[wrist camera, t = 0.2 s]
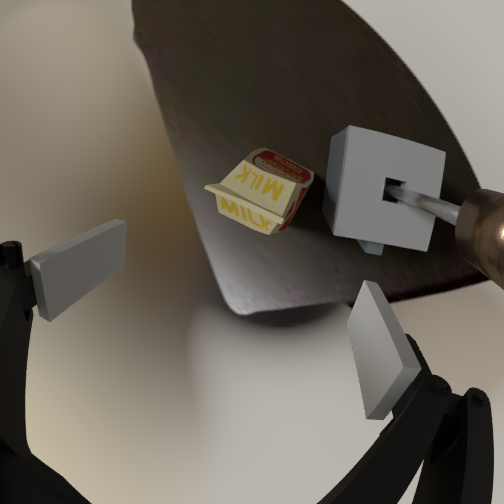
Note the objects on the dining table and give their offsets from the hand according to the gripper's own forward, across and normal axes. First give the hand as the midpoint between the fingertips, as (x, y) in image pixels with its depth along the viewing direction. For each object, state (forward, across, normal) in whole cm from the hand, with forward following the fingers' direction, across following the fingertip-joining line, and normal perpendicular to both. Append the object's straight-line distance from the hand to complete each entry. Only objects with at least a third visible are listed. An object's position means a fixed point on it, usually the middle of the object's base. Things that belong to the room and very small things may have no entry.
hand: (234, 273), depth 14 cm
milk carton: (+29, -1, +2) cm, 29 cm away
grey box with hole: (+29, +12, +6) cm, 32 cm away
